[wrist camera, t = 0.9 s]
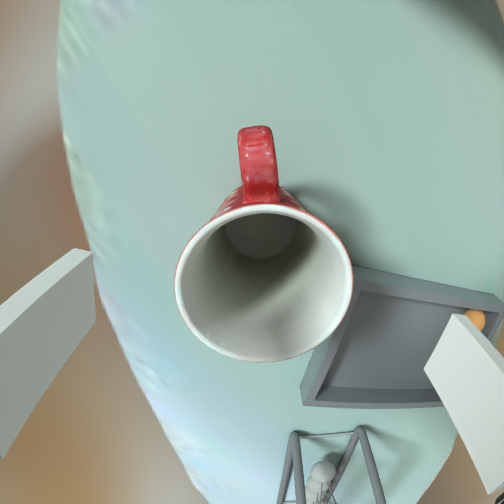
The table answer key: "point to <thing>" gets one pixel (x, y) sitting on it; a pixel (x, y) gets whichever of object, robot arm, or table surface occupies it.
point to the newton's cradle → (325, 471)
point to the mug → (263, 268)
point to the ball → (476, 317)
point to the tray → (389, 342)
